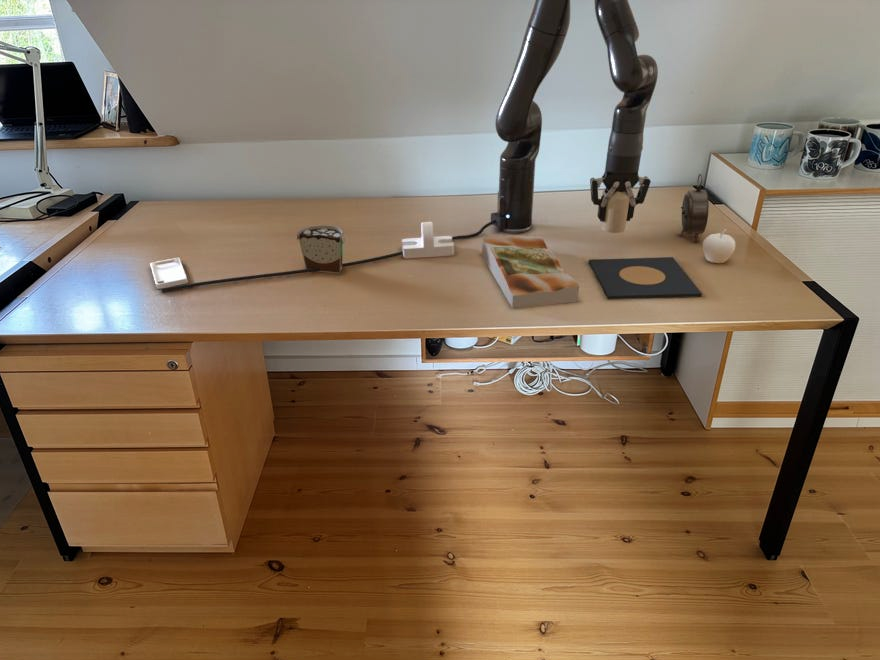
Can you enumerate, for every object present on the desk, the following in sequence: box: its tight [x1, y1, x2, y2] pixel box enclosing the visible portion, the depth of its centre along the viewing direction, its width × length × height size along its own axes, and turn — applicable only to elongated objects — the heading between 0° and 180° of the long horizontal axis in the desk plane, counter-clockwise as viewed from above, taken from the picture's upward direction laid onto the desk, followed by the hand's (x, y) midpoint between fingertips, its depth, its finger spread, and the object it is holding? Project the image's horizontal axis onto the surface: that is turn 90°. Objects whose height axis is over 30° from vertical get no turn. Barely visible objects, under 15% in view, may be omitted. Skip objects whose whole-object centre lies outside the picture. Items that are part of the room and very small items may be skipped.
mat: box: [588, 256, 703, 300], centre depth 153 cm, size 20×20×1 cm
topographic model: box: [481, 235, 580, 309], centre depth 156 cm, size 30×14×5 cm, turn 7°
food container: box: [296, 224, 346, 275], centre depth 165 cm, size 12×6×10 cm, turn 71°
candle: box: [601, 192, 630, 234], centre depth 162 cm, size 6×6×10 cm
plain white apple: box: [702, 228, 736, 264], centre depth 158 cm, size 7×7×8 cm
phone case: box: [149, 257, 189, 290], centre depth 167 cm, size 7×1×15 cm
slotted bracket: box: [401, 221, 455, 259], centre depth 171 cm, size 13×7×8 cm, turn 93°
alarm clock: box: [679, 173, 710, 243], centre depth 170 cm, size 11×5×16 cm, turn 168°
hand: (614, 220), depth 163 cm, fingers closed on candle, 5 cm apart
